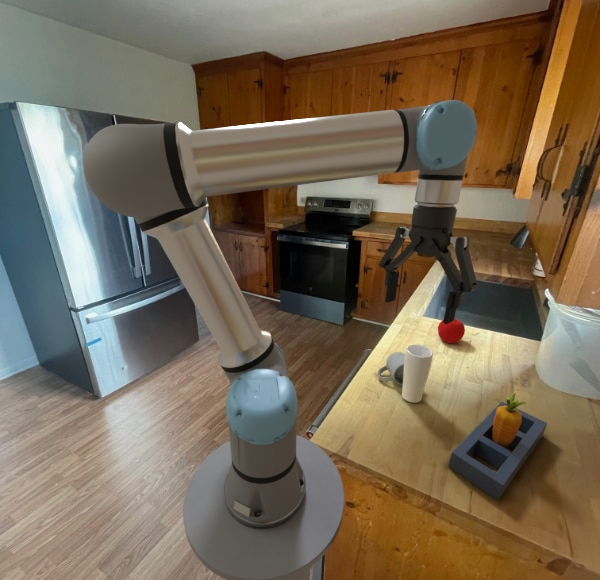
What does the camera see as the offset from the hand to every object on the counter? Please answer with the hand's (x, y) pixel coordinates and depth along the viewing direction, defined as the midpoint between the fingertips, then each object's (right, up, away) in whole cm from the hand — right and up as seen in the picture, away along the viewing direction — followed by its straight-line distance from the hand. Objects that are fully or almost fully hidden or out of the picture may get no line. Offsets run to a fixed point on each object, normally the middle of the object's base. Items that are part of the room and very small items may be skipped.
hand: (417, 310), depth 68 cm
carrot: (+20, -32, +6) cm, 38 cm away
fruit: (+31, -12, +54) cm, 63 cm away
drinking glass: (+7, -25, +23) cm, 34 cm away
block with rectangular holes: (+20, -32, +6) cm, 38 cm away
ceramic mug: (+4, -21, +31) cm, 38 cm away
